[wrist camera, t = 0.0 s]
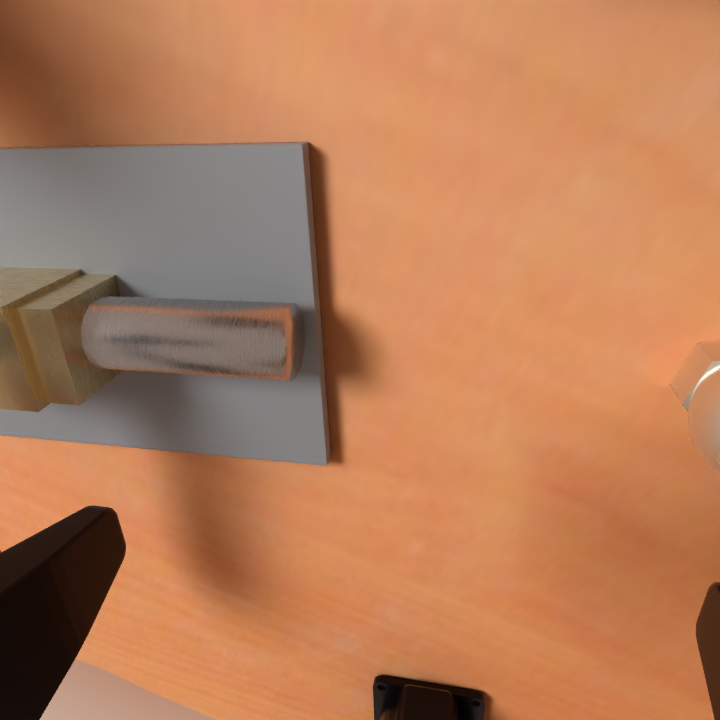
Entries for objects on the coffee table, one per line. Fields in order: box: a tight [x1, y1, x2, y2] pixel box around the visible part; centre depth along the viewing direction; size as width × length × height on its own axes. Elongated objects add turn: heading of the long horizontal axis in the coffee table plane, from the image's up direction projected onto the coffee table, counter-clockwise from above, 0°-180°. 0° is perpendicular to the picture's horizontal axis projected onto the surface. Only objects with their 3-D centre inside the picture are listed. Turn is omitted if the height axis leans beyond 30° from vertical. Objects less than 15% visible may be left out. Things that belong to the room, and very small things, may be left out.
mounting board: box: [0, 142, 331, 466], centre depth 25 cm, size 26×14×1 cm, turn 92°
